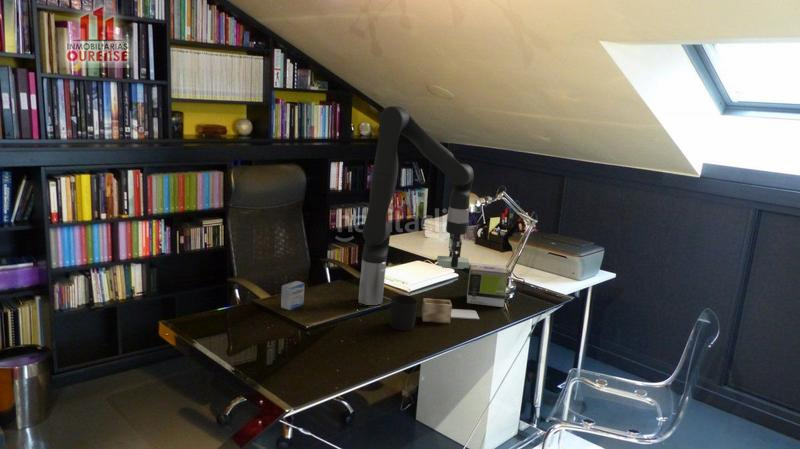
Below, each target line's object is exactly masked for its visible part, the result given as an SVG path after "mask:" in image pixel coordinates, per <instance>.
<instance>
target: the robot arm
mask: <svg viewBox="0 0 800 449" xmlns="http://www.w3.org/2000/svg"><path fill="white" fill-rule="evenodd" d="M400 135H402V136H403V137H405V138H406V139H408V140H409V141H410V142H411V143H412V144H413V145H414V146H415V147H416V148H417V149H418V150H419V152H420V153H421V154H422V155H423V156H424V157H425V158H426V159H427V160H429V162H431V163H432V164H433V165H434V166H436V168H438V169H439V170H440V171H442V173H443V174H444V175H445V176H446V178H448V179H449V181H450V182H452V183H453V187H452V188H453V189H452V191H451V192H450V196H449V204H448V210H447V218H446V227H445V231H446V233H448V234H449V243H448V252H449V254H448V256H449V257H452V262H451V267H455V268H454V269H456V267H457V266H458V258H459V257H461V252H462V244H463V242H462V240H463V239H462V238H461V236H462V235H463V236H464V235H466V234H467V233H468V226H469V225H468V223H469V218H470V217H469V215H470V214H469V209H470V201H471V199H470V197H471V192H472V188H473V183H474V177H475V175H474V169H473V168H472V166H470V165H469V164H467V163H460V162H459V160H457V159H456V157H454V154H453V153H452V152H451V151H450V150H448V148H446V147H445V146H444V145H442V143H441V142H439V141H438V140H436V139H435V138H434V137H433V136H432V135H430V133H428V132H427V131H426V130H424V129H423V128H422V126H420V125H419V124H418V122H416V121H415V120H414V118H413V117H412V116H411V114H409V112H408V111H407V110H406V109H405V108H404V107H402V106H397V105H396V106H395V105H394V106H393V105H392V106H391V105H390V106H387V107H386V108H384V109H382V111H381V112H380V114H379V120H378V137H377V138H378V139H377V147H376V151H375V157H374V163H373V169H372V175H371V180H370V181H371V182H370V183H371V184H370V189H369V191H370V192H369V202H368V209H367V213H366V217H365V221H364V225H363V227H362V237H363V239H364V241H365V244H364V248H363V251H362V254H361V255H362V256H361V257H362V258H361V270H360V276H359V288H358V290H359V291H358V303H362V304H365V305H378V304H381V303H382V304H383V300H384V286H385V277H386V276H385V275H386V267H387V266H386V265H387V257H388V253H389V248H390V239H391V226H390V224H389V222H388V221H387V220H388V212H389V208H390V205H391V202H392V199H393V197H394V194H395V190H396V187H397V181H398V174H399V158H398V143H399V139H400ZM362 304H361V305H362ZM382 304H381V305H382ZM365 305H364V306H365Z"/></svg>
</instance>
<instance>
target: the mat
mask: <svg viewBox="0 0 800 449" xmlns="http://www.w3.org/2000/svg"><path fill="white" fill-rule="evenodd" d="M452 318H453V319H466V320H468V319H469V320H480V317H479V315H478V313H477V311H476V310H473V309H458V308H452V311H451V319H452Z"/></svg>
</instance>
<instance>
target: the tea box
mask: <svg viewBox="0 0 800 449" xmlns="http://www.w3.org/2000/svg"><path fill="white" fill-rule="evenodd" d="M508 274H509V273H508V269H507V266H506V265H505V266H504V265H495V264H486V263H477V262H475V263H474V262H470V264H469V272H468V281H467V290H466V292H467V293H466V303H467V304H474V305H483V306H490V307H500V308H504V306H505V299H506V292H507V284H508V276H509V275H508Z"/></svg>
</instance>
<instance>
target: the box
mask: <svg viewBox="0 0 800 449" xmlns="http://www.w3.org/2000/svg"><path fill="white" fill-rule="evenodd" d="M421 309H422V310H421V320H422V322H424V323H425V322H426V323H427V322H428V323H440V324H451V319H452V318H451V311H452V309H453V305H452V302H451V300H450V299H439V298H436V299H435V298H423V299H422V308H421Z"/></svg>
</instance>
